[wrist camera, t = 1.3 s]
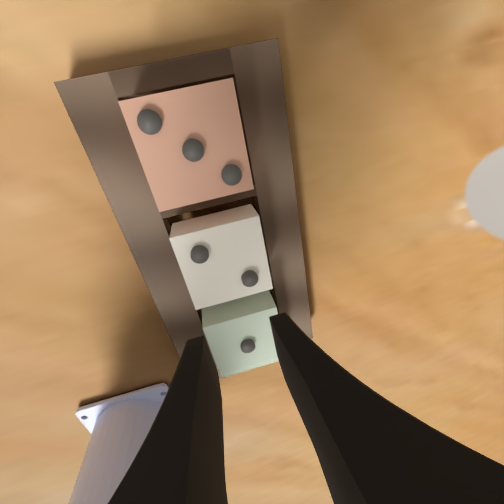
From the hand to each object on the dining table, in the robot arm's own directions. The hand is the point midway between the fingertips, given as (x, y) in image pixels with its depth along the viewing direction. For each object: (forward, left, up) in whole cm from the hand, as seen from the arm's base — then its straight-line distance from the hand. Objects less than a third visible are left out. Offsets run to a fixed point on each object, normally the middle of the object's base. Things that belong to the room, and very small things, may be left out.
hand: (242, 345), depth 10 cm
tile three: (+6, 0, -9) cm, 11 cm away
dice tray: (0, 0, -10) cm, 10 cm away
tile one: (-6, 0, -9) cm, 11 cm away
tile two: (0, 0, -9) cm, 9 cm away
